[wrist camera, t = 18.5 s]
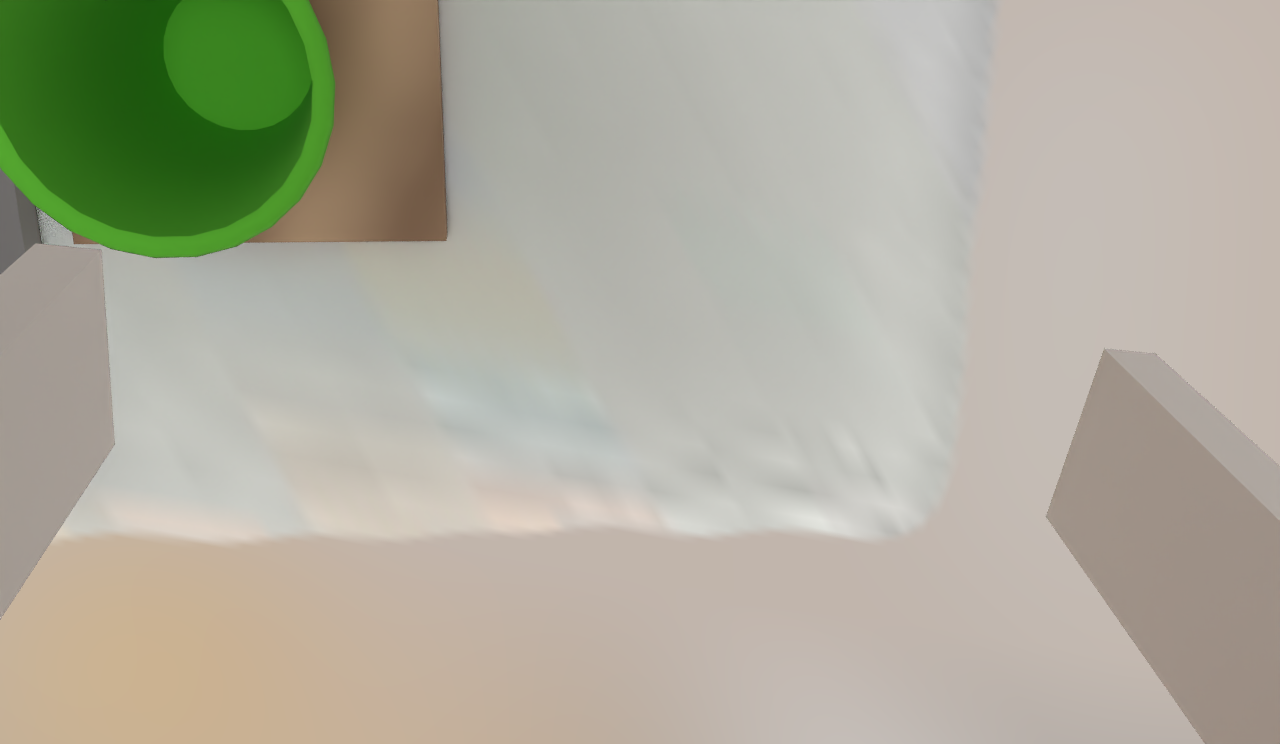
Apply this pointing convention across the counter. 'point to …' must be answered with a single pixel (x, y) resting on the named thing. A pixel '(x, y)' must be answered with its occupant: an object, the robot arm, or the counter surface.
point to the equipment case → (15, 223)
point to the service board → (376, 130)
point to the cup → (164, 116)
